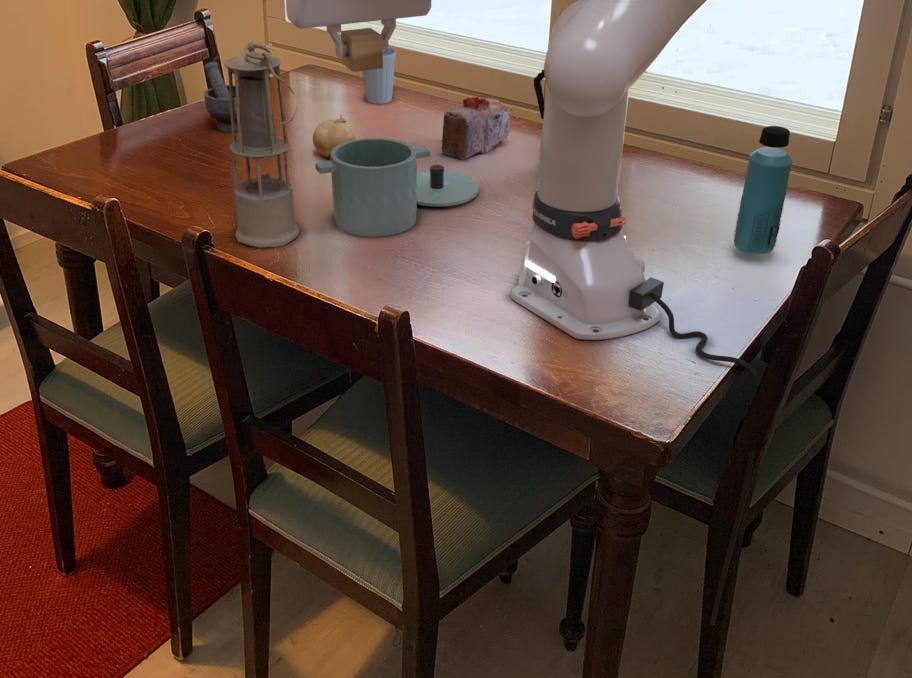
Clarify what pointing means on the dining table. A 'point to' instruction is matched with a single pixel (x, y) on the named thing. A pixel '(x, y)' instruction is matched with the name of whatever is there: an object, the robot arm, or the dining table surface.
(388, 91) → the cup
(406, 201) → the pot
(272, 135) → the lamp
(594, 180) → the robot arm
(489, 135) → the food item
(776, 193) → the beverage bottle
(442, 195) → the pot lid
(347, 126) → the onion
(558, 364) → the dining table surface
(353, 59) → the block
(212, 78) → the mortar and pestle
